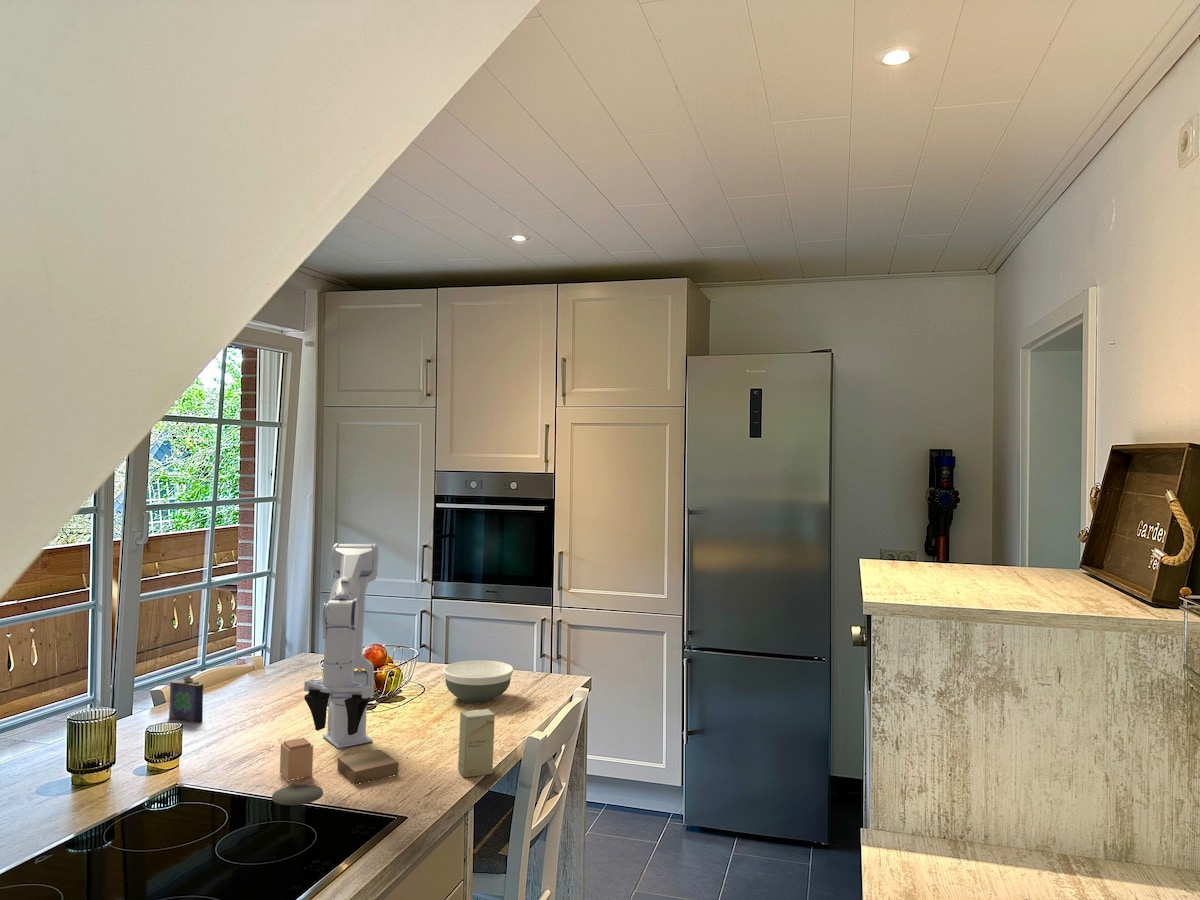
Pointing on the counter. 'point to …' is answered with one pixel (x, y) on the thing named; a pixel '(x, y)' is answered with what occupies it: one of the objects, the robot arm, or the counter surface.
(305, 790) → the coaster
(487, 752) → the skincare box
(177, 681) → the flask
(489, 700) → the bowl
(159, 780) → the counter surface
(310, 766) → the tall tan wooden block
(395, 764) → the walnut block
